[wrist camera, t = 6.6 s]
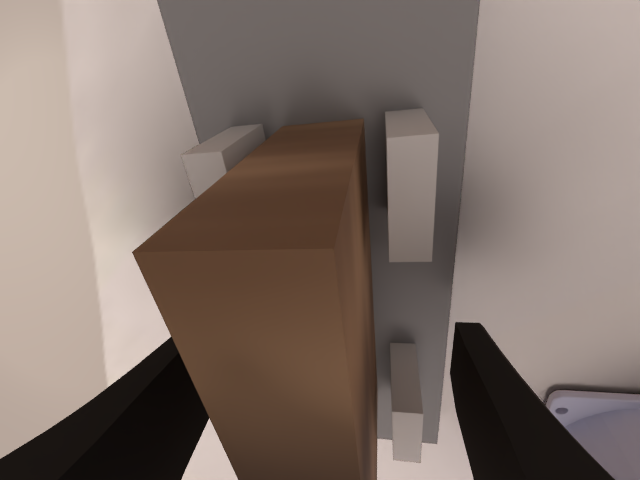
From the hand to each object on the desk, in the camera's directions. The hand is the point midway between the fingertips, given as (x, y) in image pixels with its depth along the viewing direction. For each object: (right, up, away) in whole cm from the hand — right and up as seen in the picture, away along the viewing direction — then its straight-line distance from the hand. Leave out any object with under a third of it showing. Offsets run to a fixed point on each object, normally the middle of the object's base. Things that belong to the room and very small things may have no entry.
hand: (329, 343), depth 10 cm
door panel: (0, +1, +3) cm, 3 cm away
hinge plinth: (+1, +2, +4) cm, 4 cm away
